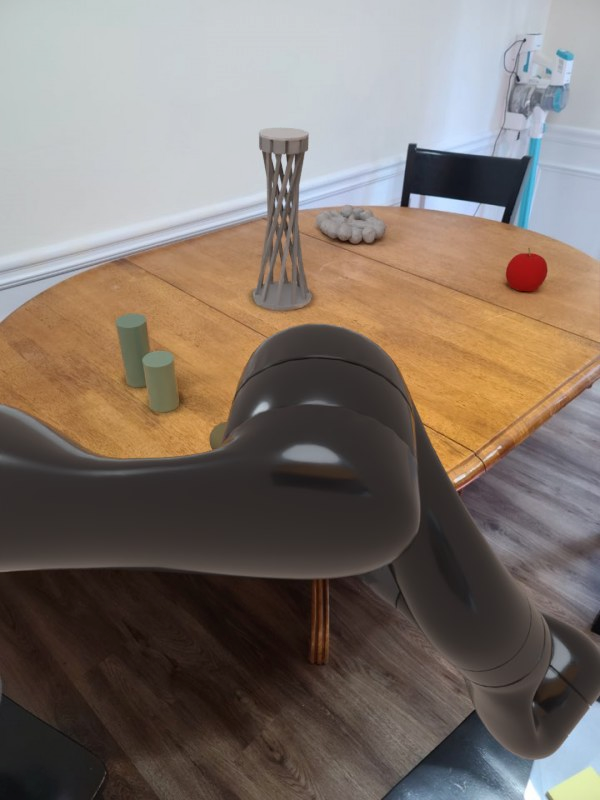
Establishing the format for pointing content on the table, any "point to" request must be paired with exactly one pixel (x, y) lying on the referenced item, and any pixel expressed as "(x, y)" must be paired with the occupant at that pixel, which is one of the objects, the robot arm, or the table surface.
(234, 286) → the table surface
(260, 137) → the grey lattice tower
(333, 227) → the campfire
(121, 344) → the back jar
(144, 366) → the front jar
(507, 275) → the fruit
